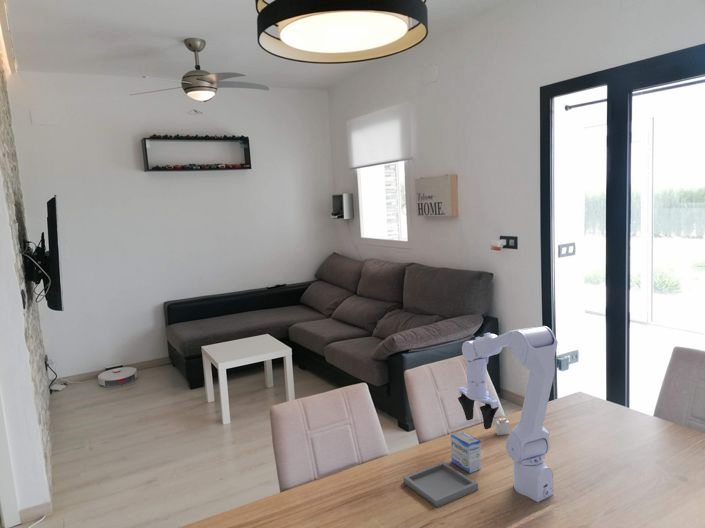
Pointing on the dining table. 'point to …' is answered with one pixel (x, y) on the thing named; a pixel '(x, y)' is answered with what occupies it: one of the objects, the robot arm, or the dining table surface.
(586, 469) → the dining table surface
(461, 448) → the medicine box
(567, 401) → the dining table surface
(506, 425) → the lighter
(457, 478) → the tray
